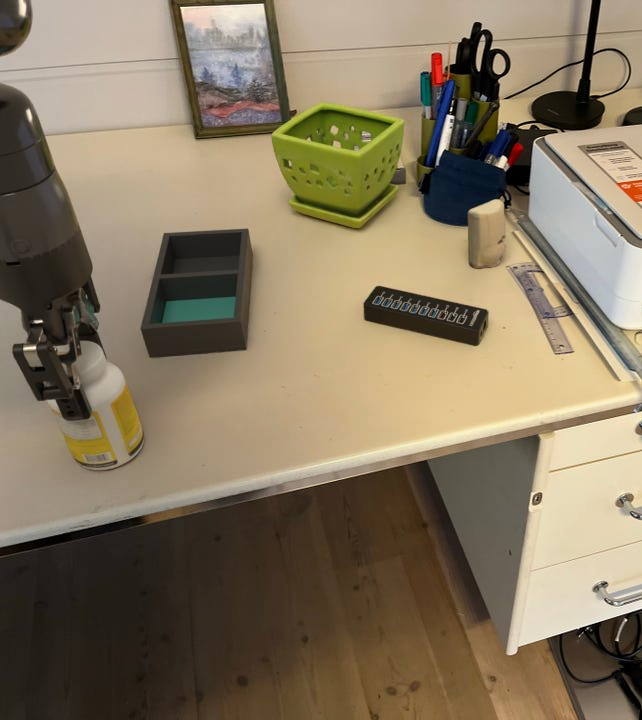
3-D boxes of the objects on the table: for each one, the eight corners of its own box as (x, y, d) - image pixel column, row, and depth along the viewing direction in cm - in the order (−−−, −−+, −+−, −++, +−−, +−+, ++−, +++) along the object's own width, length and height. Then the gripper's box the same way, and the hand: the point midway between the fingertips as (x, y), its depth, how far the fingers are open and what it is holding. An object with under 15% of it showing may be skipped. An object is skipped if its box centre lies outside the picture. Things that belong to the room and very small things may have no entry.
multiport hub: (377, 299, 93) (376, 284, 92) (488, 324, 91) (489, 309, 89) (362, 319, 90) (361, 304, 89) (477, 346, 87) (478, 330, 86)
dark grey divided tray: (246, 350, 85) (240, 321, 82) (149, 358, 83) (140, 328, 80) (252, 255, 100) (248, 228, 97) (170, 260, 98) (163, 232, 95)
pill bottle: (141, 417, 76) (110, 326, 69) (150, 461, 72) (118, 369, 64) (71, 435, 74) (31, 344, 66) (76, 482, 69) (33, 389, 62)
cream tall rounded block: (471, 245, 104) (473, 193, 99) (508, 250, 104) (512, 198, 99) (463, 267, 100) (465, 214, 95) (502, 272, 99) (506, 219, 94)
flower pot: (364, 241, 104) (359, 155, 96) (278, 218, 107) (265, 133, 99) (409, 197, 114) (407, 116, 106) (328, 178, 117) (321, 98, 109)
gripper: (-4, 186, 62) (60, 344, 72) (-65, 285, 51) (20, 453, 62) (94, 182, 63) (142, 337, 74) (54, 278, 52) (117, 443, 63)
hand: (87, 389), depth 68 cm, fingers closed on pill bottle, 6 cm apart
